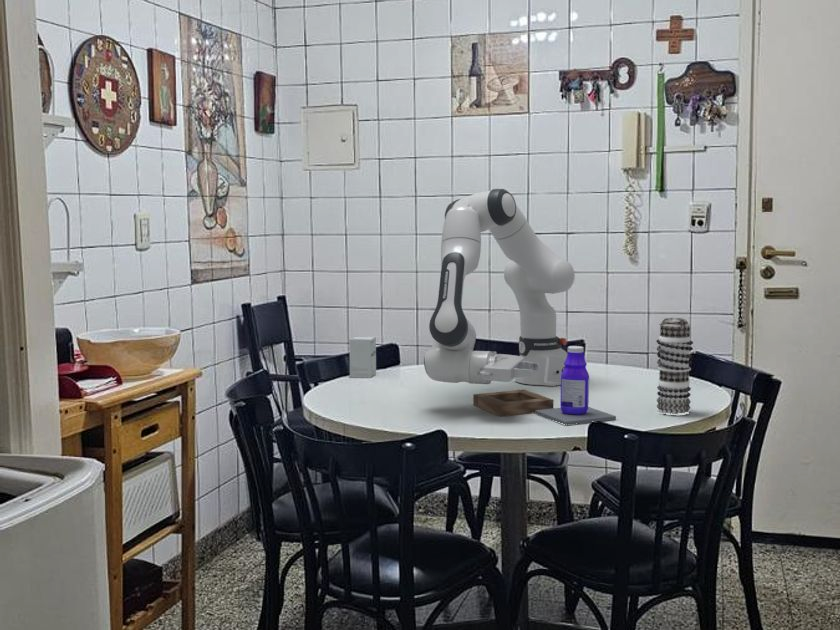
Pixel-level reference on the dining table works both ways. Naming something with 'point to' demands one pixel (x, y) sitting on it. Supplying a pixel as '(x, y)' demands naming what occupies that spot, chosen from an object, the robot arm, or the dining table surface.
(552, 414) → the slate mat
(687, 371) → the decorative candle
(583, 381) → the bottle
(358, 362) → the supplement box
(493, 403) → the wooden square tray
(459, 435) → the dining table surface
